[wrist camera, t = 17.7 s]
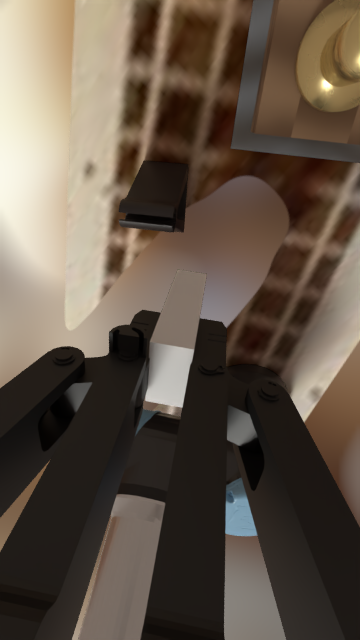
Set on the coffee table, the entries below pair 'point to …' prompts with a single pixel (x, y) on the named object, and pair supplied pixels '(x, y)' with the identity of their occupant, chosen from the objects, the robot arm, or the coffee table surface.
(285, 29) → the walnut block
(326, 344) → the coffee table surface
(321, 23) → the brass pin
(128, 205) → the phone stand
